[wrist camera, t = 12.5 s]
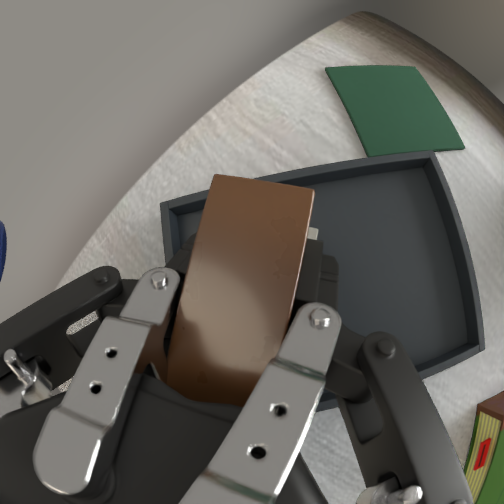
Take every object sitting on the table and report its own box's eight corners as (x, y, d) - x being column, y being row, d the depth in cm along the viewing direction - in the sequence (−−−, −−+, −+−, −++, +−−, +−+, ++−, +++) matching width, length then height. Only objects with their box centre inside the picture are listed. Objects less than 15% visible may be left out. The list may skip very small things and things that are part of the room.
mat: (368, 159, 18) (369, 156, 18) (324, 70, 20) (325, 67, 20) (463, 149, 17) (465, 147, 17) (414, 69, 19) (415, 66, 19)
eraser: (283, 380, 14) (273, 448, 6) (213, 362, 15) (141, 405, 7) (315, 238, 15) (336, 168, 7) (246, 225, 16) (205, 150, 8)
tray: (206, 414, 16) (196, 426, 14) (172, 213, 19) (159, 202, 17) (469, 346, 14) (485, 349, 12) (422, 163, 17) (433, 149, 15)
